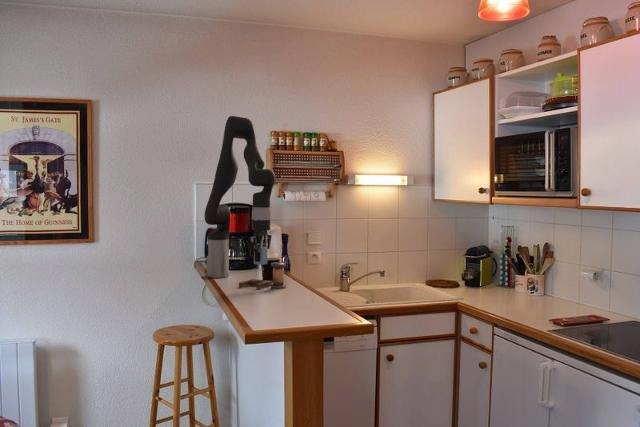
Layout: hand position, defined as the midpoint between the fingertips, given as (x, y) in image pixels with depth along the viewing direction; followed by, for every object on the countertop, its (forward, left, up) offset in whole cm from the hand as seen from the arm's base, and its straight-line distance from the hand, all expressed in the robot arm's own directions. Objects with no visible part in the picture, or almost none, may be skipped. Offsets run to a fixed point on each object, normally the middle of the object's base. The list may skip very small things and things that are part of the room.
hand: (260, 260), depth 217 cm
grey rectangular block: (0, 0, -1) cm, 1 cm away
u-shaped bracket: (-4, +4, -11) cm, 13 cm away
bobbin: (+5, +6, -11) cm, 14 cm away
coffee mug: (-6, +19, -12) cm, 23 cm away
